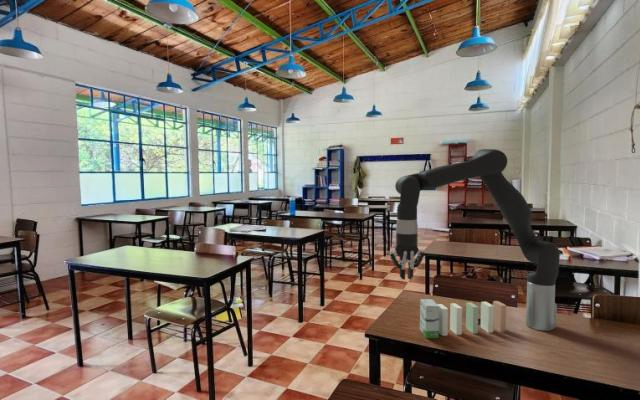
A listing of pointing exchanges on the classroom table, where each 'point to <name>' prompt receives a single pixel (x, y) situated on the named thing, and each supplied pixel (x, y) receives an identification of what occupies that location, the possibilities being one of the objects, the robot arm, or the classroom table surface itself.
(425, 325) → the ink box
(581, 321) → the classroom table surface
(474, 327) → the domino
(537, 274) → the robot arm
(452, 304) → the domino
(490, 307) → the domino
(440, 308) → the domino
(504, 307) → the domino end
